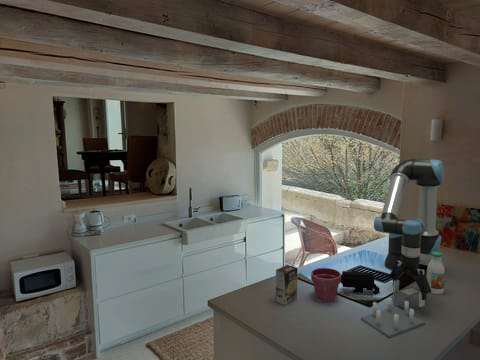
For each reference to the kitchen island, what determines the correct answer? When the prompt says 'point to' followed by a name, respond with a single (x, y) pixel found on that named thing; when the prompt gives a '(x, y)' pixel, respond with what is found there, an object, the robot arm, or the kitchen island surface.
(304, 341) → the kitchen island surface
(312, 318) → the kitchen island surface
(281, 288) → the coffee box
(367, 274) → the security camera
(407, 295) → the grey block
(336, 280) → the plant pot
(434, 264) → the milk bottle
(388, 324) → the tray
